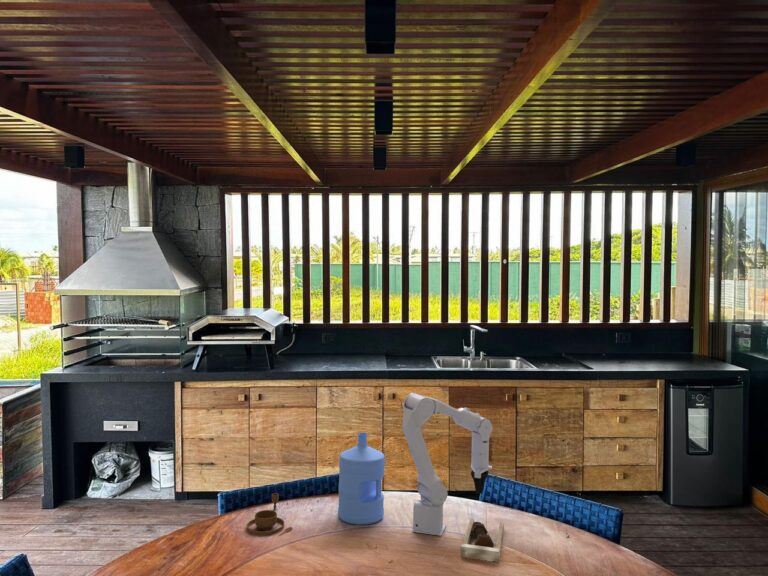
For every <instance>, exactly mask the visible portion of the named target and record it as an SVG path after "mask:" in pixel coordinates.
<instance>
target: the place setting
mask: <svg viewBox="0 0 768 576" xmlns="http://www.w3.org/2000/svg"><path fill="white" fill-rule="evenodd" d="M279 499H280V498H279V493H276V492H275V493H271V502H272V503H273V510H272V509H271V510H270V509H265V510H260V511H258V512H255V514H254V518H253V519H251V520H249V521H248V522H247V523H246V530H247V532H249V533H251V534H253V535H257V536H269V535H273V534H274V535H275V534H276V533H279V532H281V531H282V530H283V529H284V527H285V521H284V520H285V519H283V518H280V517H277V516H278V513H277V512H276V511H277V503H278V502H279ZM277 523H278V524H280V527H279V528H276V529H273V530H270V529H272V527H274V526H275V525H276V524H277ZM254 524H255V525H256V527H257V528H259V530H263V531H259V530H258V531H257V530H254V529H251V527H252V526H253V525H254ZM292 530H293V527H292V526H290V527H287V528H285V529H284V531H283V532H282V533H280V534H278V537H280V536H282V535H284V534H286V533H289V532H291V531H292Z"/></svg>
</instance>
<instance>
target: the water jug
mask: <svg viewBox="0 0 768 576" xmlns="http://www.w3.org/2000/svg"><path fill="white" fill-rule="evenodd" d="M357 435H358V436H357V437H358V438H357V445H356V446H352V447H351V448H349V449H347V450H345V451H342V452H341V453H340V455H339V460H338V462H339V463H338V468H339V471H338V473H339V474H338V476H339V477H338V509H337V515H338V518H339V519H340V520H341V521H342V522H344V523H347V524H352V525H358V526H359V525H360V526H361V525H370V524H374V523H377V522H379V521H381V520H382V519H383V517H384V515H385V507H384V506H385V502H384V501H385V497H384V493H383V492H382V482H383V481H382V480H383V478H384V476H385V467H386V466H385V465H386V460H385V454H384V453H383V452H382V451H379V450H378V449H375V448H373V447H371V446H368V433H367V432H358V433H357Z"/></svg>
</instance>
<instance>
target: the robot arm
mask: <svg viewBox="0 0 768 576" xmlns="http://www.w3.org/2000/svg"><path fill="white" fill-rule="evenodd" d="M402 407H403V408H402V409H403V414H402V421H401V422H402V423H401V425H402V426H401V427H402V430H403V433H404V436H405V439H406V442H407V445H408V447H409V448H408V449H409V451H410V453H411V458H412V461H413V463H414V466H415V468H416V471H417V474H418V475H417V477H416V480H417V488H416V489H417V492H418V494H419V495H420V499H415V501H414V502H413V503H414V504H413V510H412V511H413V512H412V514H413V515H412V533H417V534H418V533H419V534H425V535H426V534H427V535H432V536H439V537H440V536H441V537H442V536H443V533H444V531H445V528H446V524H445V523H444V504H445V503H446V501H447V499H448V489H447V488H446V486H444V485H443V483H442V481H441V478H440V477H439V476H438V475H437V474H436V472H435V469H434V466H433V462H432V459H431V457H430V453H429V451H428V448H427V444H426V442H425V439H424V438H425V437H424V436H423V433H422V429H421V428H422V426H423V425H424V424H425V423H426V422H427V420H429V419H430V418H431V417H432V415H436V414H438V413H441V414H443V415H444V416H448V417H450V418H453V421H454V423H455V425H457V426H460V427H462V428H465V429H466V430H469V431H470V432H471V464H470V468H471V469H472V470H471V472H470V475H471V477H472V480H473V483H474V488H475V493H476V494H479V495H483V494H484V493H483V492H484V489H485V484H486V480H487V478H488V476H489V470H492V469H493V466H492V465H489V456H490V451H489V449H490V448H489V447H490V439H491V438H490V437H491V434H492V432H493V430H494V426H493V425H492V422H491V421H490V419H488V418H486V417H483V416H481V414H480V413H478V412H476V413H474V412H473V411H471V409H470V408H468V407H459V408H455V407H453V406H451V405H449V404H447V403H445V402H443V401H441V400H440V399H436V398H433V397H430V396H426V395H421V394H418V393H416V392H411V393H410V394H408V395H407V396H406V397H405V399H404V401H403V403H402ZM443 523H444V524H443Z"/></svg>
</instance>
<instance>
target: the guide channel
mask: <svg viewBox="0 0 768 576" xmlns="http://www.w3.org/2000/svg"><path fill="white" fill-rule="evenodd" d="M474 522H475V518H472V517H470V520H469V523H468V526H467V529H466V532H465V535H464V538H463V542H462V543H461V545H460V557H461V558H465V557H466V559H472V558H474V560H479V559H480V560H481V561H485V560H487V561H486V562H492V561H496V562H495V563H499V562H500V557H501V551H500V550H502V549H501V548H502V544H503V543H502V542H503V538H504V537H503V536H504V530H505V522H504V521H499V527H498V533H497V539H496V544H495V547H493V548H490V547H483V546H476V545H475V544H470V541H471V538H472V535H473V533H472V531H471V530H472V528H473V524H474ZM470 537H471V538H470Z"/></svg>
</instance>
